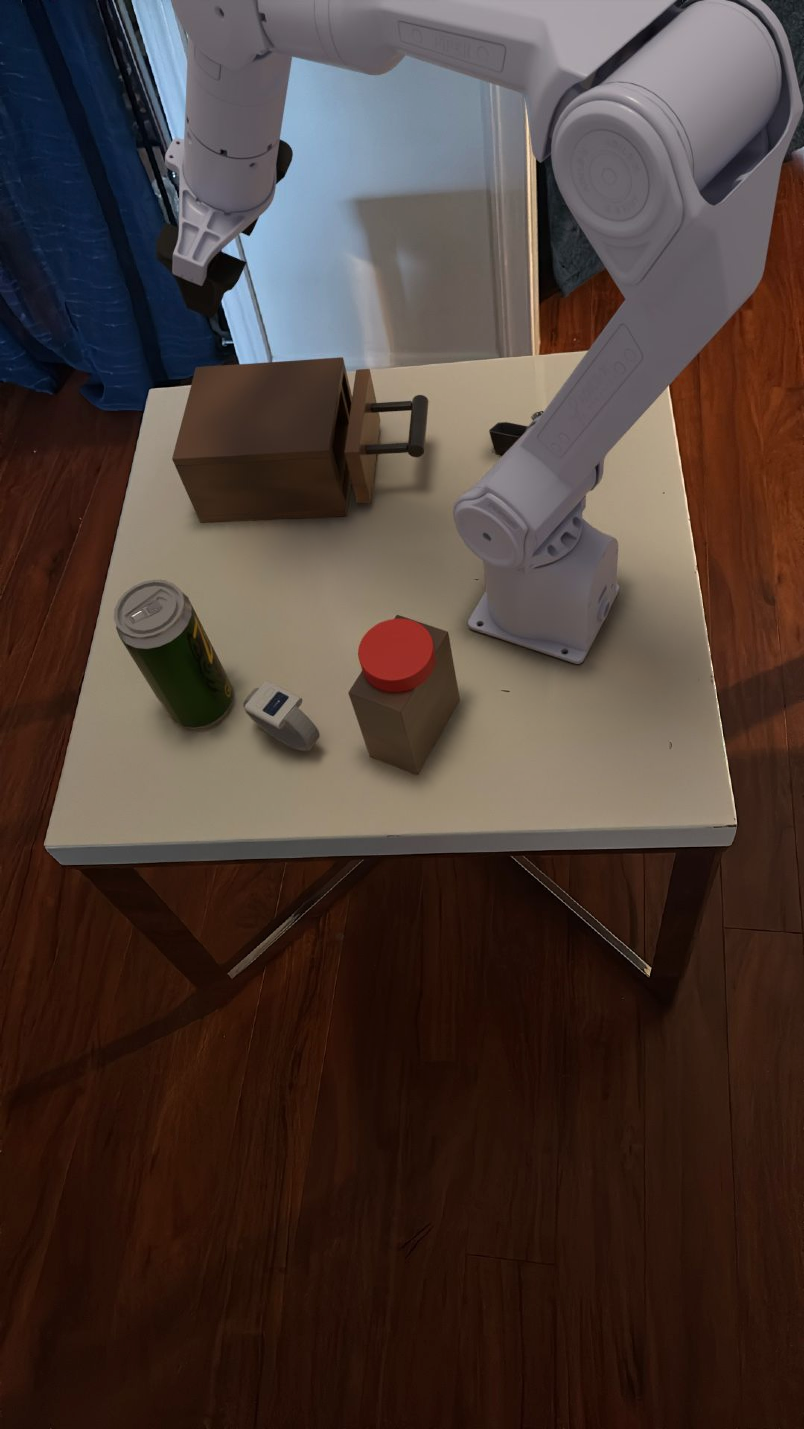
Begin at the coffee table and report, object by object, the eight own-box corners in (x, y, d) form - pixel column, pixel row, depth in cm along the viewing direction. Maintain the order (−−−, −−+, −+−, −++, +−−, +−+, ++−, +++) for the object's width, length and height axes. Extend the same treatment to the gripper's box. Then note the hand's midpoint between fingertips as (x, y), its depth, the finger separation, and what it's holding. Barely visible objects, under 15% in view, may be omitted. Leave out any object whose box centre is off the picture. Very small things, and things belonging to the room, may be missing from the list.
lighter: (508, 483, 91) (477, 436, 89) (520, 468, 92) (489, 421, 90) (576, 471, 85) (544, 421, 83) (588, 455, 86) (557, 404, 83)
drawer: (434, 417, 92) (426, 364, 88) (428, 499, 87) (419, 448, 82) (251, 428, 95) (233, 377, 90) (234, 508, 90) (214, 459, 85)
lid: (448, 644, 70) (446, 631, 68) (414, 702, 68) (411, 690, 66) (383, 622, 71) (380, 609, 70) (348, 678, 69) (344, 665, 68)
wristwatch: (246, 733, 78) (227, 698, 74) (268, 707, 79) (251, 670, 75) (310, 769, 76) (294, 734, 72) (332, 741, 77) (318, 705, 73)
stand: (460, 699, 77) (448, 631, 70) (417, 775, 74) (400, 712, 67) (412, 682, 79) (396, 614, 72) (369, 756, 76) (347, 692, 69)
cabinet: (358, 425, 95) (343, 356, 88) (346, 516, 89) (328, 450, 82) (220, 433, 97) (195, 366, 90) (199, 522, 91) (171, 458, 85)
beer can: (187, 745, 79) (130, 653, 69) (156, 698, 81) (97, 603, 71) (248, 707, 80) (200, 612, 70) (216, 663, 82) (166, 564, 72)
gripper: (212, 6, 64) (202, 170, 77) (123, 181, 59) (128, 324, 72) (320, 55, 65) (292, 209, 78) (240, 231, 60) (224, 364, 73)
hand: (219, 267), depth 75 cm, fingers open, 7 cm apart
